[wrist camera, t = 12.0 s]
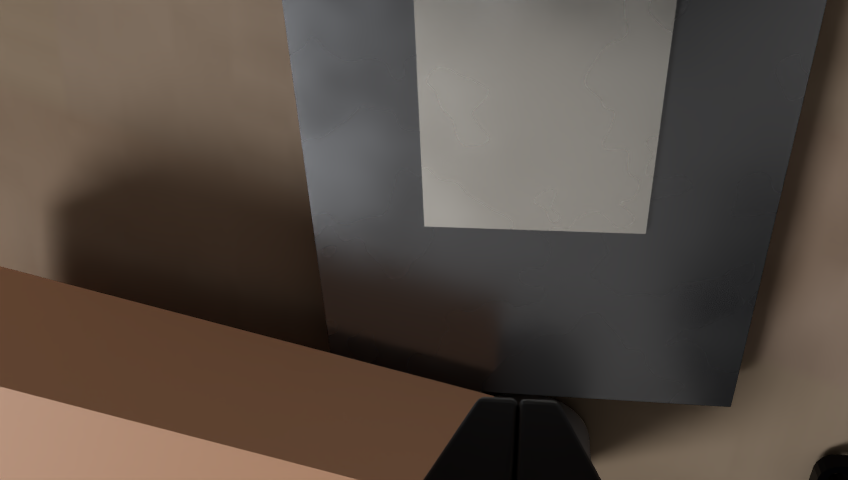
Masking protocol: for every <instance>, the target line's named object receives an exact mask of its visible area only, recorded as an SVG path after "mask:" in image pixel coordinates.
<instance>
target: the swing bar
mask: <svg viewBox="0 0 848 480" xmlns="http://www.w3.org/2000/svg"><path fill="white" fill-rule="evenodd" d="M481 397H499V398H512V399H514V400H516V402H517V403H518V406H519V403H520V401H521V400H523V399H537V400H553V401H556V402H558V403H559V404H560V406H561V407H562V409H563V411H564V412H565V414H566V416H567V418H568V420H569V422H570V423H571V425H572V427H573V429H574V431H575V433H576V434H577V436H578V438H579V440H580V442H581V444H582V445H583V447H584V449H585V451H586V453H587V455H588V456H589V458H590V460H591V456H590V441H589V434H588V430H587V428H586V425H585V424H584V422H583V420H582V419H581V418H580V417H579V415H578V414H577V413H576V412H575V411H573V410H572V409H571V408H570V407H568V406H567V405H565V404H563V403H562V402H560V401H557V400H555V399H553V398H550V397H547V396H544V395H528V394H511V393H507V394H502V395H498V396H492V395H488V394H484V393H481V392H477V391H473V390H469V389H465V388H461V387H458V386H454V385H450V384H446V383H442V382H439V381H435V380H431V379H427V378H423V377H420V376H416V375H412V374H408V373H404V372H401V371H397V370H393V369H389V368H385V367H381V366H378V365H374V364H370V363H366V362H362V361H359V360H355V359H351V358H347V357H343V356H340V355H336V354H332V353H328V352H324V351H320V350H317V349H313V348H309V347H305V346H301V345H298V344H294V343H290V342H286V341H282V340H279V339H275V338H271V337H267V336H263V335H260V334H256V333H252V332H248V331H244V330H240V329H237V328H233V327H229V326H225V325H221V324H218V323H214V322H210V321H206V320H202V319H199V318H195V317H191V316H187V315H183V314H179V313H176V312H172V311H168V310H164V309H160V308H157V307H153V306H149V305H145V304H141V303H138V302H134V301H130V300H126V299H122V298H119V297H115V296H111V295H107V294H103V293H99V292H96V291H92V290H88V289H84V288H80V287H77V286H73V285H69V284H65V283H61V282H58V281H54V280H50V279H46V278H42V277H38V276H35V275H31V274H27V273H23V272H19V271H16V270H12V269H8V268H4V267H0V480H423V479H424V478H425V476H426V475H427V473H428V472H429V470H430V469H431V467H432V466H433V464H434V463H435V462H436V460H437V459H438V457H439V456H440V454H441V453H442V451H443V450H444V448H445V447H446V445H447V444H448V442H449V441H450V439H451V438H452V436H453V435H454V433H455V432H456V430H457V429H458V427H459V426H460V424H461V423H462V421H463V420H464V419H465V417H466V416H467V414H468V413H469V411H470V410H471V408H472V407H473V405H474V404H475V402H476V401H477V400H478V399H479V398H481Z"/></svg>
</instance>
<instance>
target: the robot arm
mask: <svg viewBox="0 0 848 480" xmlns="http://www.w3.org/2000/svg"><path fill="white" fill-rule="evenodd" d="M835 473H837V474H835ZM423 480H601V478H600V477H599V475H598V473H597V471H596V469H595V467H594V466H593V464H592V462H591V460H590V458H589V456H588V455H587V453H586V451H585V449H584V447H583V445H582V444H581V442H580V440H579V438H578V436H577V434H576V433H575V431H574V429H573V427H572V425H571V423H570V422H569V420H568V418H567V416H566V414H565V412H564V411H563V409H562V407H561V406H560V404H559V403H558V402H556V401H553V400H537V399H523V400H521V401H520V403H519V406H518V403H517V402H516V400H514V399H512V398H499V397H481V398H479V399H478V400H477V401H476V402H475V404H474V405H473V407H472V408H471V410H470V411H469V413H468V414H467V416H466V417H465V419H464V420H463V421H462V423H461V424H460V426H459V427H458V429H457V430H456V432H455V433H454V435H453V436H452V438H451V439H450V441H449V442H448V444H447V445H446V447H445V448H444V450H443V451H442V453H441V454H440V456H439V457H438V459H437V460H436V462H435V463H434V464H433V466H432V467H431V469H430V470H429V472H428V473H427V475H426V476H425V478H424V479H423ZM809 480H848V455H829V456H826V457H823V458H821V459H820V460H818V461H817V462H816V463H815V465H814V467H813V470H812V473H811V475H810V478H809Z"/></svg>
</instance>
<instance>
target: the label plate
mask: <svg viewBox="0 0 848 480" xmlns="http://www.w3.org/2000/svg"><path fill="white" fill-rule="evenodd" d="M826 2H827V0H282V3H283V11H284V18H285V25H286V32H287V40H288V47H289V54H290V62H291V69H292V76H293V83H294V91H295V98H296V105H297V113H298V120H299V127H300V134H301V142H302V149H303V156H304V164H305V171H306V178H307V185H308V193H309V200H310V207H311V215H312V222H313V229H314V236H315V244H316V251H317V258H318V265H319V273H320V280H321V287H322V295H323V302H324V309H325V316H326V324H327V331H328V338H329V346H330V353H332V354H336V355H340V356H343V357H347V358H351V359H355V360H359V361H362V362H366V363H370V364H374V365H378V366H381V367H385V368H389V369H393V370H397V371H401V372H404V373H408V374H412V375H416V376H420V377H423V378H427V379H431V380H435V381H439V382H442V383H446V384H450V385H454V386H458V387H461V388H465V389H469V390H473V391H479V392H495V393H511V394H528V395H544V396H560V397H577V398H593V399H609V400H626V401H642V402H659V403H675V404H691V405H708V406H724V407H731V403H732V399H733V395H734V391H735V387H736V382H737V378H738V374H739V370H740V365H741V361H742V357H743V353H744V348H745V344H746V340H747V336H748V332H749V327H750V323H751V319H752V315H753V310H754V306H755V302H756V298H757V294H758V289H759V285H760V281H761V277H762V272H763V268H764V264H765V260H766V256H767V251H768V247H769V243H770V239H771V234H772V230H773V226H774V222H775V217H776V213H777V209H778V205H779V201H780V196H781V192H782V188H783V184H784V179H785V175H786V171H787V167H788V163H789V158H790V154H791V150H792V146H793V141H794V137H795V133H796V129H797V125H798V120H799V116H800V112H801V108H802V103H803V99H804V95H805V91H806V86H807V82H808V78H809V74H810V70H811V65H812V61H813V57H814V53H815V48H816V44H817V40H818V36H819V32H820V27H821V23H822V19H823V15H824V10H825V6H826Z"/></svg>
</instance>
